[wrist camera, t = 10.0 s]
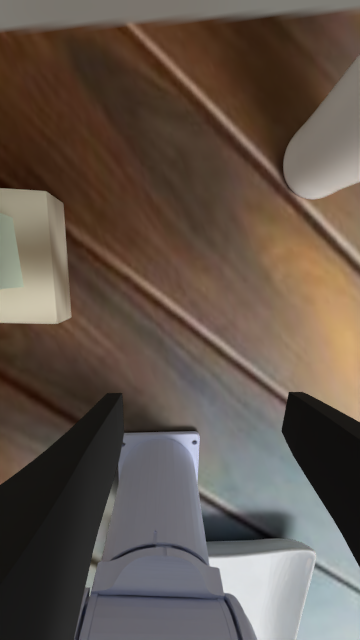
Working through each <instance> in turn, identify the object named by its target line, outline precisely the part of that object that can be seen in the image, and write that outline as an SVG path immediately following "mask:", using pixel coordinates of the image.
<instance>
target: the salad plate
mask: <svg viewBox="0 0 360 640" xmlns="http://www.w3.org/2000/svg"><path fill="white" fill-rule="evenodd" d="M206 545H207V551H208V558H209V564H210V566H211V567H217V568H219V569H220V575H221V580H222V586H223V591H224V593H230V594H232V595H234V596H235V597H236V598H237V600H238V601H239V603H240V604H241V606H242V608H243V610H244V612H245V614H246V616H247V617H248V619H249V621H250V623H251V625H252V627H253V630H254V632H255V635H256V637H257V640H296V637H297V634H298V629H299V625H300V620H301V616H302V612H303V608H304V604H305V600H306V596H307V592H308V589H309V585H310V581H311V577H312V573H313V569H314V565H315V560H316V552H315V551H314V550H313V549H312V548H310V547H309V546H307V545H305V544H304V543H301V542H298V541H295V540H291V539H281V538H276V539H261V540H243V541H210V542H206Z"/></svg>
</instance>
